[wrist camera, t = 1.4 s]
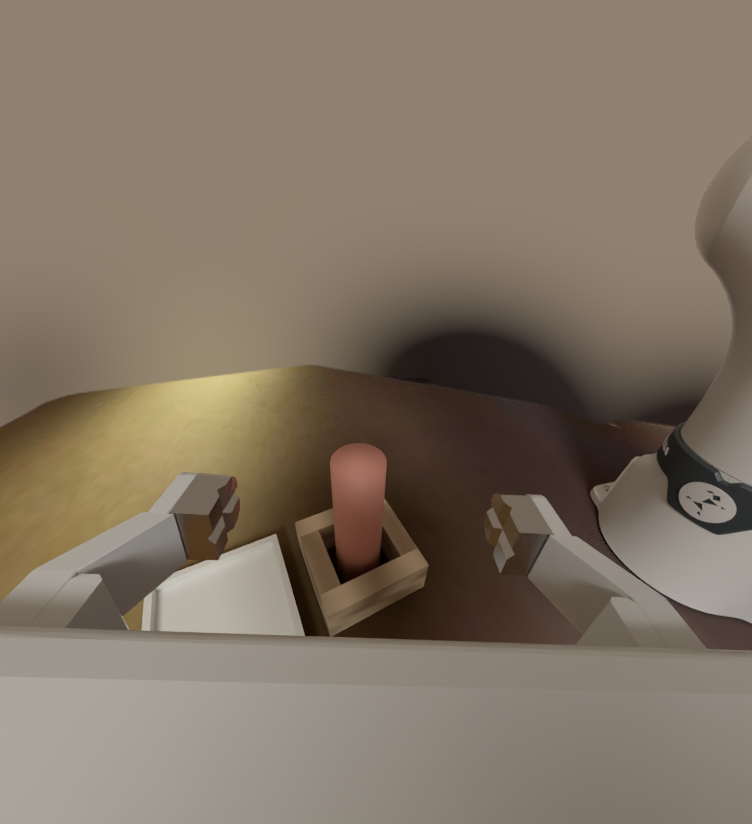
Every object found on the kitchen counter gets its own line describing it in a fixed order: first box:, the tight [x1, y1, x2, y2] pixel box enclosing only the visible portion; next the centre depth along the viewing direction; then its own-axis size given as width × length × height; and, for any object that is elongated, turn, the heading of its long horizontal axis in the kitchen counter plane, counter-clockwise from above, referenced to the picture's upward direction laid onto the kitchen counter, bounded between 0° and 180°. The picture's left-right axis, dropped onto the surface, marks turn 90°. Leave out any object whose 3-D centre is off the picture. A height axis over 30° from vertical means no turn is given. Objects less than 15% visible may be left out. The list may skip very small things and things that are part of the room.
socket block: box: [295, 498, 429, 637], centre depth 32 cm, size 10×10×4 cm
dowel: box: [330, 443, 387, 582], centre depth 29 cm, size 4×4×15 cm
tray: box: [142, 534, 305, 636], centre depth 28 cm, size 12×12×2 cm
